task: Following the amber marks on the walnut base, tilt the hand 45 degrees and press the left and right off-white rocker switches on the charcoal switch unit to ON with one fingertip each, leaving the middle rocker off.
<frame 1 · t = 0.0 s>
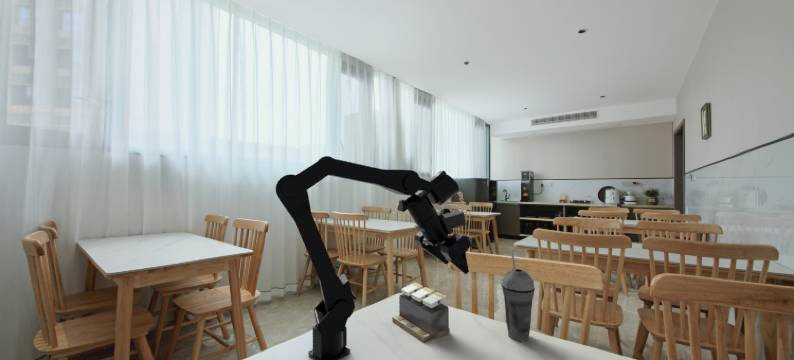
hand: (456, 267, 76), 15 cm above the table, tool tilted 35°, fingers open, 9 cm apart
beverage cup: (518, 337, 71), on the table
switch unit: (419, 326, 76), on the table
rocker right: (434, 299, 73), point 8 cm above the table, hinge at -10.0°
rocker left: (411, 289, 81), point 8 cm above the table, hinge at -10.0°
rocker mid: (422, 294, 77), point 8 cm above the table, hinge at -10.0°
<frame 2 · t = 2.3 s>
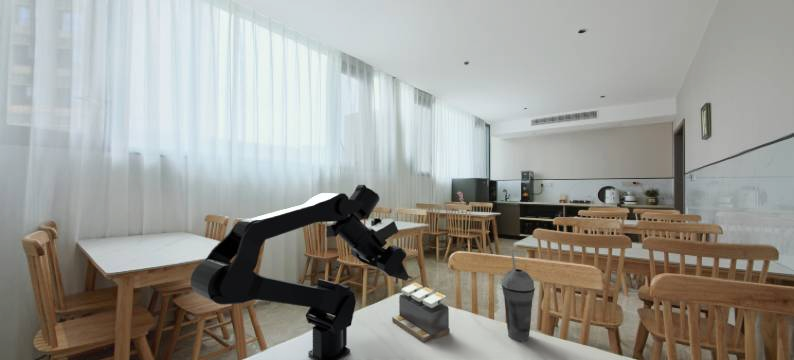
hand: (397, 273, 76), 13 cm above the table, tool tilted 45°, fingers open, 9 cm apart
nothing on the table moved.
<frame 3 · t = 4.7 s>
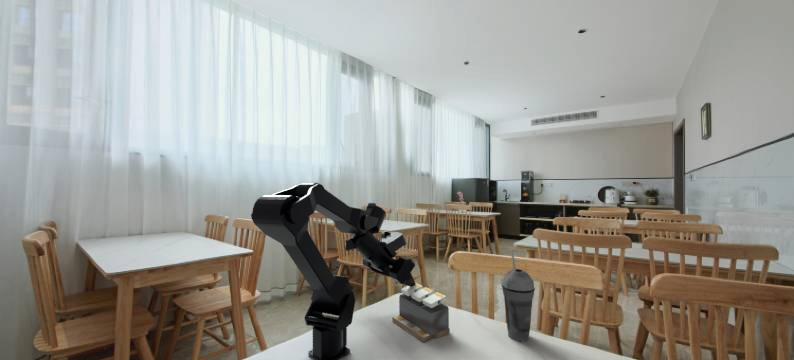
hand: (404, 281, 86), 8 cm above the table, tool tilted 45°, fingers open, 8 cm apart
rocker left: (411, 289, 81), point 8 cm above the table, hinge at -9.3°, touching gripper
everything else where it was.
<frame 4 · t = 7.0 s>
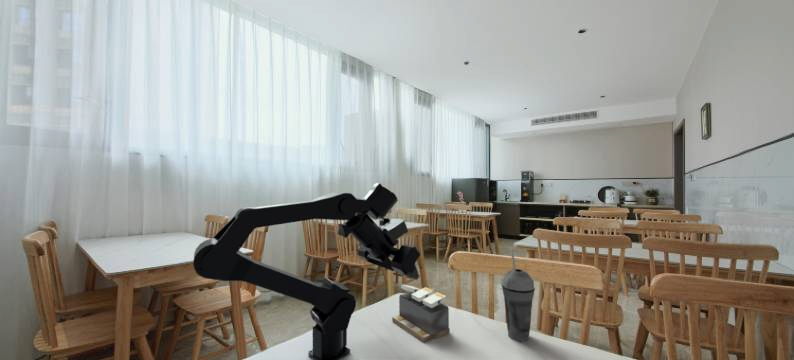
hand: (405, 273, 77), 13 cm above the table, tool tilted 45°, fingers open, 9 cm apart
rocker left: (412, 289, 81), point 8 cm above the table, hinge at 20.6°
everything else where it was.
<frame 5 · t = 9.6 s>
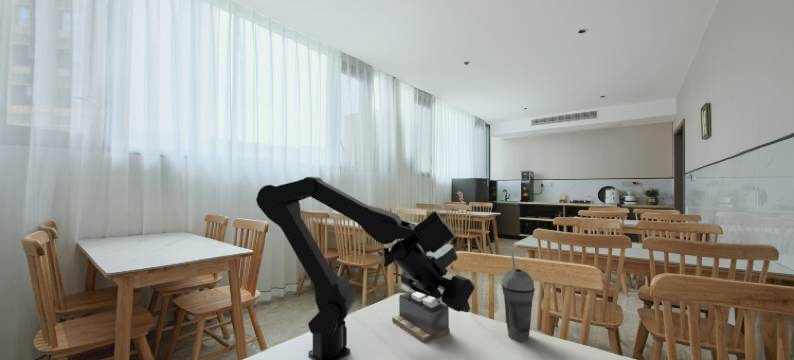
hand: (453, 303, 70), 8 cm above the table, tool tilted 45°, fingers open, 9 cm apart
rocker right: (434, 299, 73), point 8 cm above the table, hinge at -8.5°, touching gripper
rocker left: (412, 289, 81), point 8 cm above the table, hinge at 18.4°
everything else where it was.
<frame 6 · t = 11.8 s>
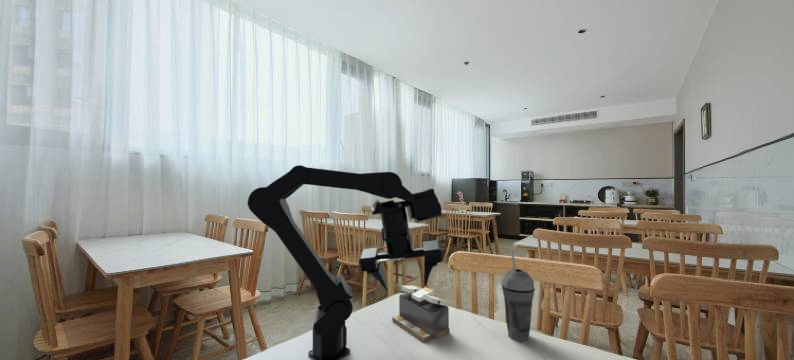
hand: (406, 287, 72), 11 cm above the table, tool tilted 20°, fingers open, 9 cm apart
rocker right: (434, 299, 73), point 8 cm above the table, hinge at 22.2°
rocker left: (411, 289, 81), point 8 cm above the table, hinge at 11.3°
everything else where it was.
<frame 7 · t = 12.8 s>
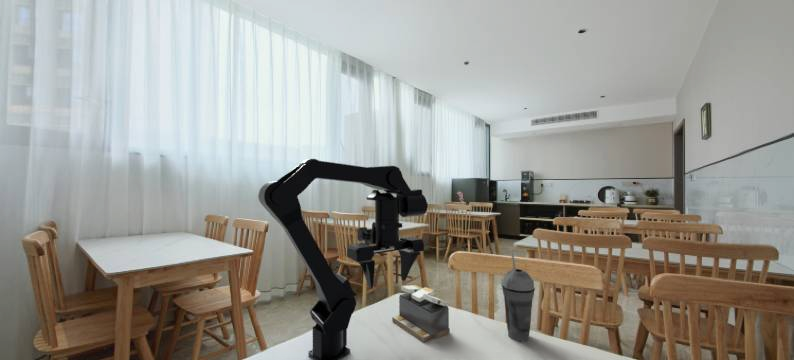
hand: (387, 284, 73), 12 cm above the table, tool pointing down, fingers open, 9 cm apart
rocker right: (434, 299, 73), point 8 cm above the table, hinge at 24.9°
rocker left: (411, 289, 81), point 8 cm above the table, hinge at 9.2°
everything else where it was.
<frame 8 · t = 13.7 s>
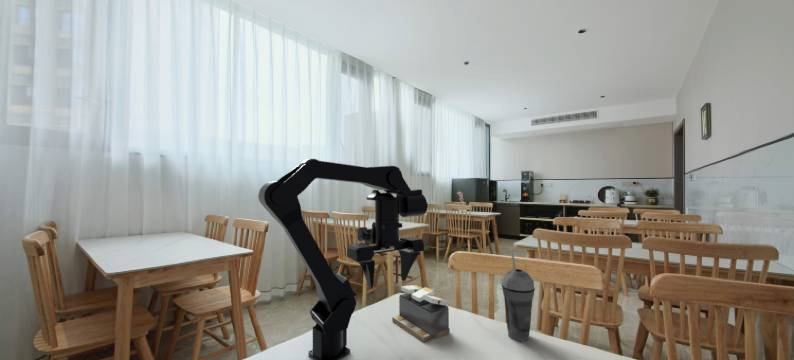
hand: (387, 284, 73), 12 cm above the table, tool pointing down, fingers open, 9 cm apart
rocker right: (434, 299, 73), point 8 cm above the table, hinge at 19.9°
rocker left: (411, 289, 81), point 8 cm above the table, hinge at 7.6°
everything else where it was.
at the end: rocker left at +8° (first picture: -10°); rocker right at +20° (first picture: -10°); rocker mid at -10° (first picture: -10°) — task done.
